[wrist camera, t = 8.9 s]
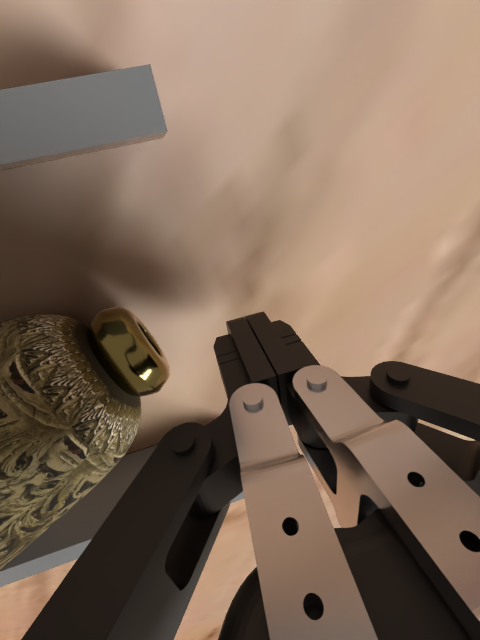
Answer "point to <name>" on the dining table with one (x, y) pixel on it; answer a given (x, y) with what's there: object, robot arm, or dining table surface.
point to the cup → (67, 412)
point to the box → (58, 142)
